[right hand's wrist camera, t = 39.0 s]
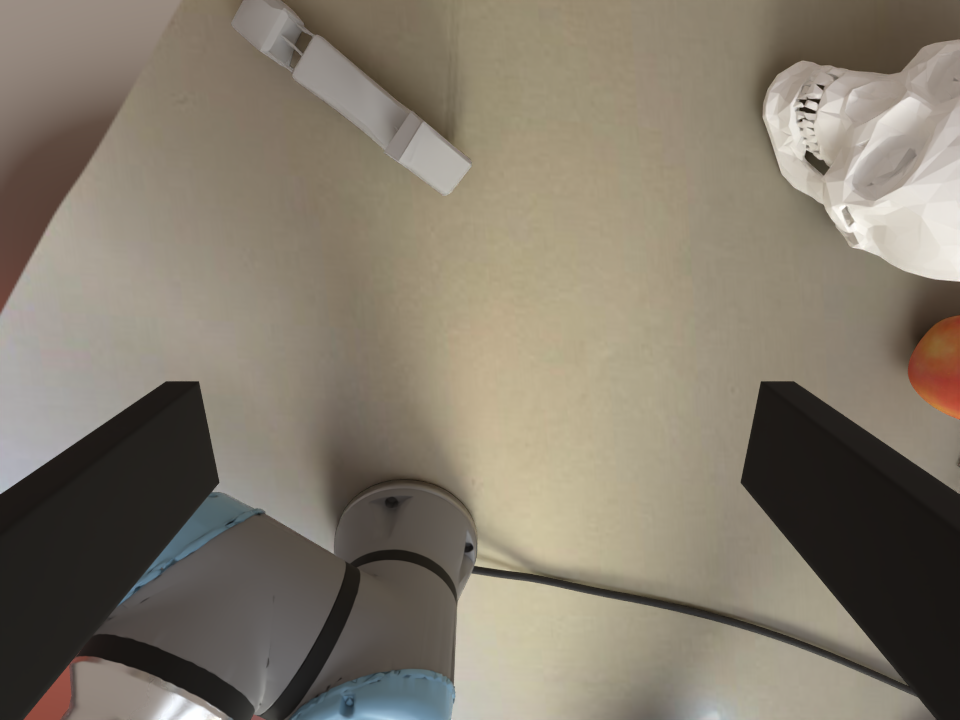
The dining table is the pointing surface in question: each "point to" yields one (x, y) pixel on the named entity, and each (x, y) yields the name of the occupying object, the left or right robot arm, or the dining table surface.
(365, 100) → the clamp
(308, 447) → the dining table surface
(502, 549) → the dining table surface
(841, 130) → the skull
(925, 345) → the apple
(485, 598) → the dining table surface
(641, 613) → the dining table surface
